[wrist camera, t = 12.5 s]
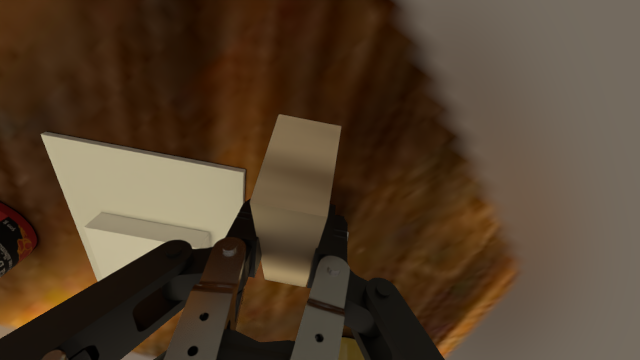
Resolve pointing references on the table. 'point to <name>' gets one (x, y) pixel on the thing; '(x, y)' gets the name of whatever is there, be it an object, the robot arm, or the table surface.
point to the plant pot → (349, 350)
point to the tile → (133, 239)
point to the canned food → (14, 238)
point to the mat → (144, 187)
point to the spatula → (294, 196)
